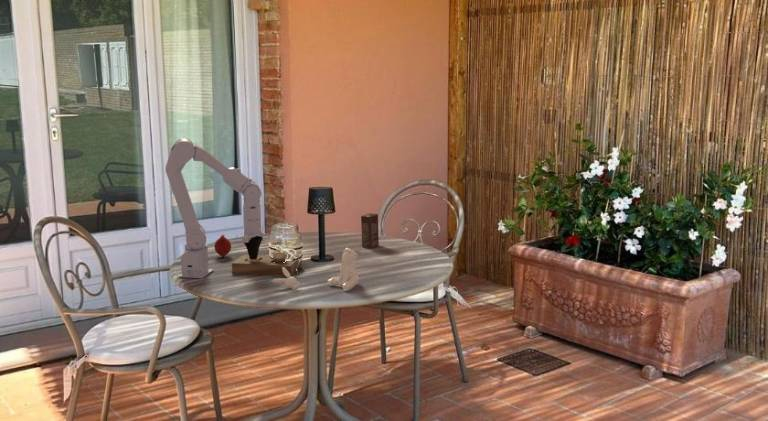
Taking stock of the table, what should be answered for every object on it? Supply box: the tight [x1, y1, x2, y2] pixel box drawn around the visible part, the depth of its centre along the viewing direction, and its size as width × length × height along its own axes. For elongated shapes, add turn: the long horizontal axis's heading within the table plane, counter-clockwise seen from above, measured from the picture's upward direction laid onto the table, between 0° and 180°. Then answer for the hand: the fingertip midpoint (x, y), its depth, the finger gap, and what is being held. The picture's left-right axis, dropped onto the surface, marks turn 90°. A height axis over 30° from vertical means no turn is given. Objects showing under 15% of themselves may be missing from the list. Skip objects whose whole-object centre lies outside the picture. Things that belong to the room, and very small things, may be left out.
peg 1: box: [247, 258, 260, 262], centre depth 259 cm, size 4×4×3 cm
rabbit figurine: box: [271, 267, 300, 290], centre depth 240 cm, size 6×4×8 cm
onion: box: [214, 234, 232, 258], centre depth 275 cm, size 6×6×8 cm
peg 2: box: [272, 250, 286, 263], centre depth 257 cm, size 4×4×3 cm
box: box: [360, 213, 380, 249], centre depth 290 cm, size 6×4×12 cm
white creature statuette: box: [327, 247, 360, 292], centre depth 241 cm, size 10×9×12 cm
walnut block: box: [231, 254, 298, 277], centre depth 259 cm, size 11×20×4 cm, turn 79°
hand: (253, 258), depth 259 cm, fingers closed
